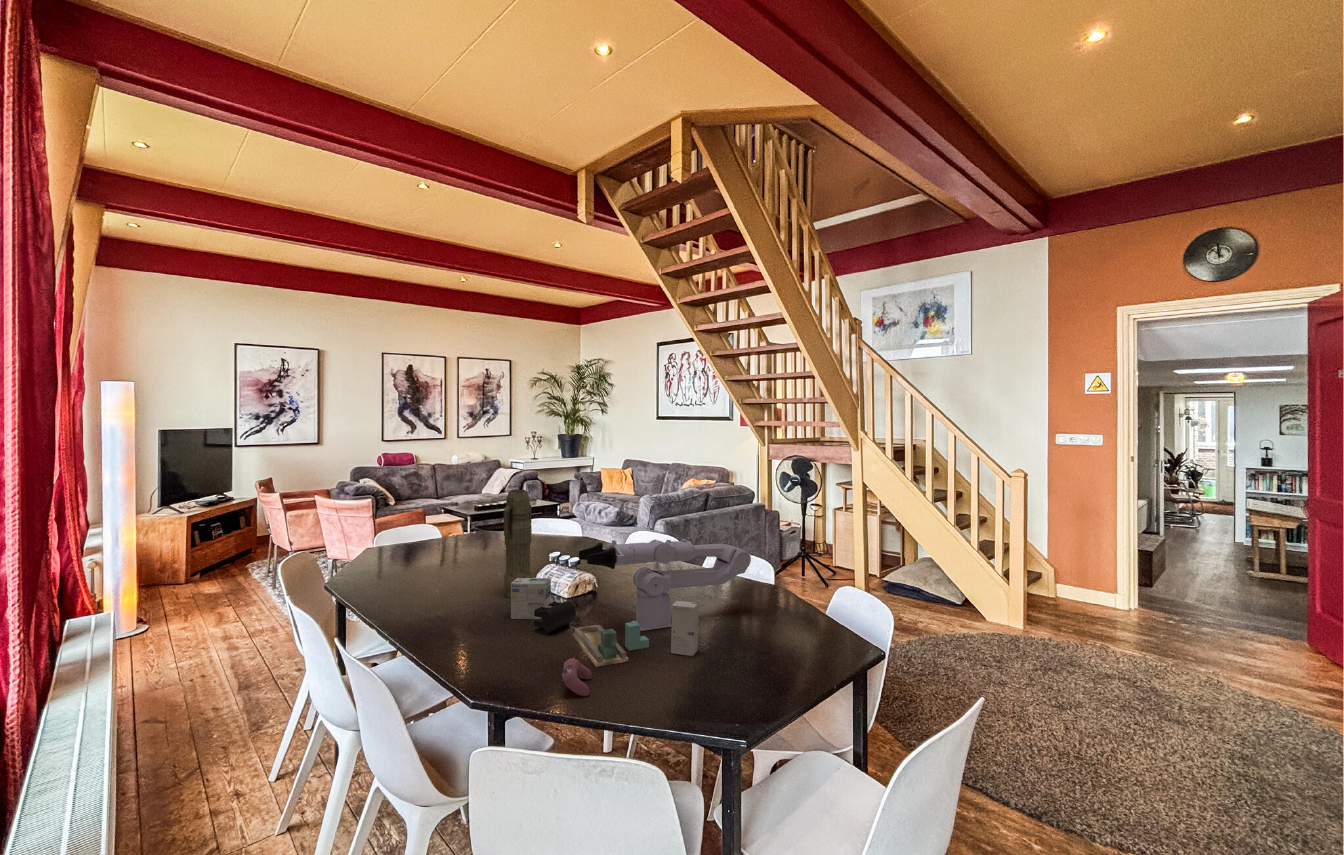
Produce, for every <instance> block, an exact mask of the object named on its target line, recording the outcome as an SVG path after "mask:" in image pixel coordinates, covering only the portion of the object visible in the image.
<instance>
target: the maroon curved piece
mask: <svg viewBox="0 0 1344 855" xmlns="http://www.w3.org/2000/svg"><path fill="white" fill-rule="evenodd" d="M592 676H593V675H592V672H591V670H590V669H589V668H588V667H587V666H585V665H583V664H582V663H581V662H580V661H579V659H577V658H575V657H572V658H569V659H567V660H566V661H564V663H563V672H562V673H561V677H562V680H563V682H564V684H565V686H566V687H567V688H568V689H569V690H570V691H571V692H573V693H575V694H577V695H579V696H581V697H588V696H589V695H590V694H591V693H590V687H588V685H587V684H586V683H585V682H583V681H582V680H581V679H583V680H590V679H591V678H592ZM567 688H566V689H567Z"/></svg>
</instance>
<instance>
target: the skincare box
mask: <svg viewBox="0 0 1344 855" xmlns="http://www.w3.org/2000/svg"><path fill="white" fill-rule="evenodd" d="M699 606H700V604H699V602H694V601H693V602H692V601H682V600H676V601H675V602H674V603H673V604H671V624H672V626H671V630H670V631H671V632H670V633H671V636H670V638H671V639H670V641H671V642H670V643H671V644H670V653H671V654H677V655H682V656H689V657H693V656H695V654H696V653H697V651H698V648H699V646H698V645H699V644H698V643H699V641H698V640H699V639H698V638H699Z"/></svg>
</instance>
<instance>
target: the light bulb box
mask: <svg viewBox="0 0 1344 855" xmlns="http://www.w3.org/2000/svg"><path fill="white" fill-rule="evenodd" d="M551 581H552V578H551V577H532V578H517V579H515V580H514V581H513V582H512V583H511V598H510V620H542V618H540V617H535V616H534V611H535V609H537V608H540V607H545V608H551V607H552V606H549V604H550V603H552V585H551V584H552V582H551Z"/></svg>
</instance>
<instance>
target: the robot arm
mask: <svg viewBox="0 0 1344 855" xmlns="http://www.w3.org/2000/svg"><path fill="white" fill-rule="evenodd" d="M694 557H698V558H699V557H701V558H703V557H704V558H705V557H706V558H715V561H714V564H713V565H712V567H701V568H688V569H671V570H663V569H653V568H649V567H646V566H642V567H639V568H638V569H636V570H635V572H634V573H633V576H632V581H633V584H634V586H635V587H636V595H635V597H636V601H635V603H636V605H635V607H636V609H635V610H636V611H635V612H636V613H635V614H636V615H635V616H636V620H631V621H630V622H637V623H638V624H639V625H640V632H644V631H650V630H658V629H663V628H670V627H671V628H672V603H671V602H672V601H671V597H670V595H669V593H668V592H670V590H671V589H680V588H682V589H683V588H693V587H704V586H707V587H708V586H715V585H716V586H717V585H719V586H720V585H724V584H726V583H728V582H730V580H732V579H734V578H735V577H737V576H738V575H741V574H744V573H746V571H747V570H748V568H749V566H750V565H751V563H752V562H751V560H752V558H751V557H752V556H751V554H750V552H749V551H748V550H747V549H743V548H740V547H737V546H734V545H733V544H730V543H729V544H727V543H726V544H724V543H709V544H705V543H704V544H693V543H692V542H691V541H689V540H688V539H685V538H681V539H680V540H673V541H672V540H671V539H666V540H665V542H664V541H661V540H659V539H652V540H651V541H649V542H632V543H619V544H618V543H617V540H616V539H615V540H614V539H613V540H612V541H611V544H610V545H608V546H607V547H603V543H602V542H598V543H597V544H595V545H594V546H590V547H589V548H585V549H582V550H579V551H578V559H579V560H582V561H583V560H584V561H586V563H587V564H588V565H592V566H601V567H606V568H609V569H612V570H614V569H615V568H616V567H617V566H625V565H626V566H628V565H637V564H638V565H640V564H647V563H655V562H657V563H659V564H664V565H668V564H669V563H671V562H672V563H673V562H691V560H693V558H694Z"/></svg>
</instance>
